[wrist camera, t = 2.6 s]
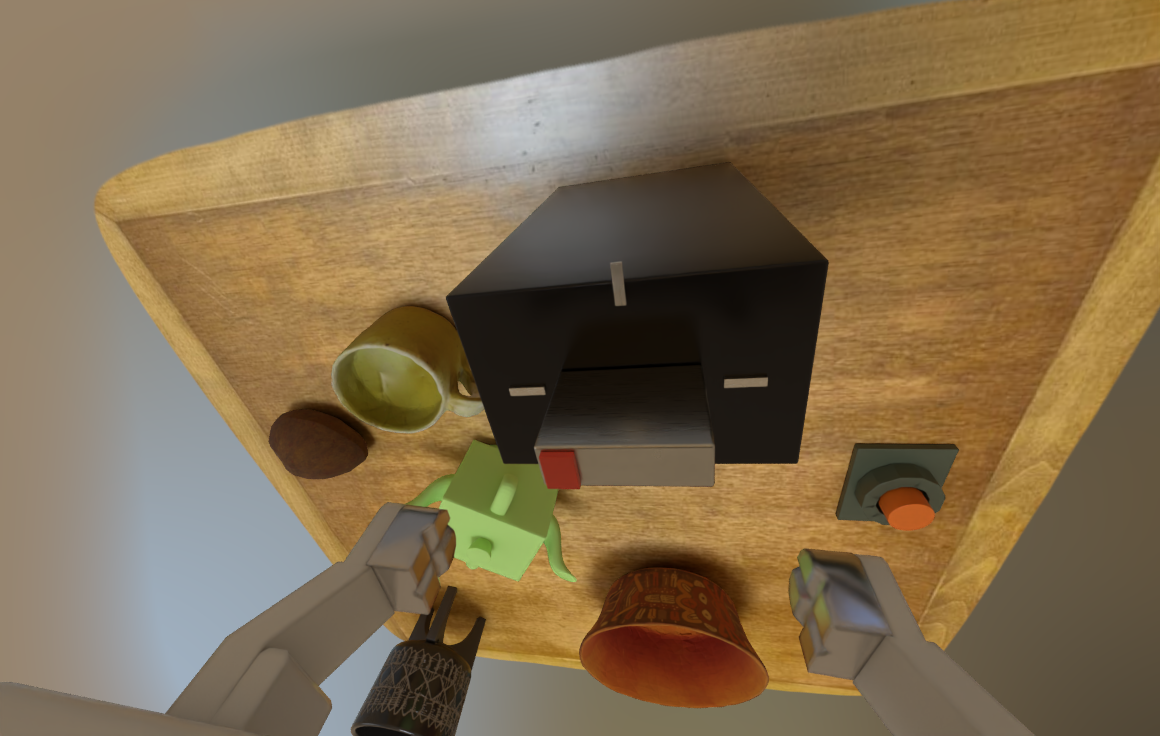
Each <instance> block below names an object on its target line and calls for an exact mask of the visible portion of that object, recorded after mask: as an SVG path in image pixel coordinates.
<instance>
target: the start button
mask: <svg viewBox="0 0 1160 736" xmlns="http://www.w3.org/2000/svg"><path fill="white" fill-rule="evenodd" d="M879 506H880V508H881V509H882V511H883V513H884V515H885V517H886V519H887V521H888V523H889V524H890V525H891V526H892V527H894V528H896V529H899V530H906V531H909V530H917V529H920V528H923V527H925V526H927V525H929V524H930V523H931V522H932V521H933V520H934V518H935V512H934V510H933V509H932V507H931V506H930V504H929V503H928V501H927V500H926V498H925V497H924V495H923V494H922V492H921V491H920V490H918V489H916V488H913V487H900V488H897V489H893V490H890V491H887V492H886V493H884V494H883V495H882V496H880V498H879Z"/></svg>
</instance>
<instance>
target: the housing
mask: <svg viewBox="0 0 1160 736" xmlns="http://www.w3.org/2000/svg"><path fill="white" fill-rule="evenodd" d="M958 451H959V449H958V448H957V447H956V445H954V444H855V447H854V451H853V454H852V458H851V462H850V465H849V469H848V472H847V476H846V480H845V483H844V487H843V490H842V494H841V498H840V501H839V505H838V508H837V512H836V516H837V519H838V520H857V521H875V522H878V523H880V524H882V525H890V524H889V523H888V521H887V519H886V517H885V515H884V513H883V511H882V509H881V508H880V506H879V498H880V496H882V495H883V494H884V493H886V492H887V491H890V490H893V489H897V488H900V487H913V488H916V489H918V490H920V491H921V492H922V494H923V495H924V497H925V498H926V500H927V501H928V503H929V504H930V506H931V507H932V509H933V510H934V512H935V513H936V512H938V511H939V510H940V509H941V506H942V504H943V502H944V500H945V495H944V493H943V491H942V489H941V488H942V486H943V484H944V482H945V479H946V477H947V475H948V473H949V471H950V468H951V466H952V464H953V462H954V460H955V457H956V455H957V453H958Z"/></svg>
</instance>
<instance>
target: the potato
mask: <svg viewBox="0 0 1160 736" xmlns="http://www.w3.org/2000/svg"><path fill="white" fill-rule="evenodd" d="M269 444H270V446H271V448H272V449H273V451H274V452H275V454H276V455H277V456H278V457H279V459H280V460H281V461H282V463H283V465H284V466H285V468H286V470H288V471H289V472H290V473H291V474H293V475H295V476H299V477H303V478H307V479H327V478H332V477H335V476H338V475H341V474H344V473H347V472H349V471H351V470H352V469H354V468H355V467H357V466H358V465H359V464H361V463H362V462H363V461H365V459H366V457H367V456H368V449H367V443H366V442H365V440H364V439H363V438H362V436H361V435H360V434H359V433H357V432H356V431H355V430H353V429H352V428H351V427H349V426H348V425H346V424H345V423H344V422H342V421H341V420H339V419H338V418H336V417H333V416H330V415H328V414H325V413H322V412H318V411H315V410H307V409H300V410H293V411H290V412H287V413H284V414H282V415H281V416H280V417H279V418H277V419H276V421H275V422H274V424H273V425H272V427H271V431H270V436H269Z"/></svg>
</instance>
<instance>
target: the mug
mask: <svg viewBox="0 0 1160 736" xmlns="http://www.w3.org/2000/svg"><path fill="white" fill-rule="evenodd" d="M331 376H332V387H333V390H334V391H335V393H336V395H337V397H338V400H339V401H340V403H341V404H342V405H343V406H344V407H345V408H346V409H347V410H348V411H349V412H351V413H352V414H353V415H354V416H355V417H357V418H358V419H359V420H361V421H363V422H365V423H367V424H369V425H372V426H374V427H376V428H378V429H381V430H384V431H389V432H395V433H416V432H419V431H422V430H425V429H427V428H429V427H431V426H432V425H433V424H435V423H436V422H437V421H438V419H439V418H440V417H441V416H442V414H443V413H444V412H445V411H447V410H450V411H452V412H454V413H456V414H457V415H460V416H464V417H471V416H474V415H477V414H479V413H480V412H481V411H483V410H484V406H483V403H482V401H481V398H480V395H479V392H478V389H477V386H476V383H475V380H474V378H473V375H472V372H471V370H470V366H469V363H468V360H467V358H466V355H465V352H464V349H463V346H462V343H461V340H460V338H459V335H458V332H457V330H456V329H455V328H454V326H453V325H452V324H451V323H450V322H449V321H448V320H447V319H445V318H444V317H442V316H440V315H438V314H436V313H433V312H431V311H430V310H428V309H425V308H420V307H414V306H405V307H399V308H396V309H393V310H391V311H389V312H387V313H386V314H384V315H383V316H382V317H380V318H379V319H378V320H377V321H375V322H374V323H373V324H372V325H371V326H370V327H368V328H367V329H366V330H365V331H363V332H362V333H361V334H360V335H359V336H358V337H357V338H356V339H355V340H354V341H353V342H352V343H351V344H350V345H349V346H348V347H347V348H346V349H345V350H344V351H343V352H342V353H341V354H340V355H339V356H338V358H337V359H336V361H335V362H334V364H333V368H332V373H331ZM458 381H460V382H461V383H462V384H463V385H464V387H465V388H466V390H467V392H468V393H469V394H470V395H471V396H465V395H462V394H461V393H459V390H458Z"/></svg>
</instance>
